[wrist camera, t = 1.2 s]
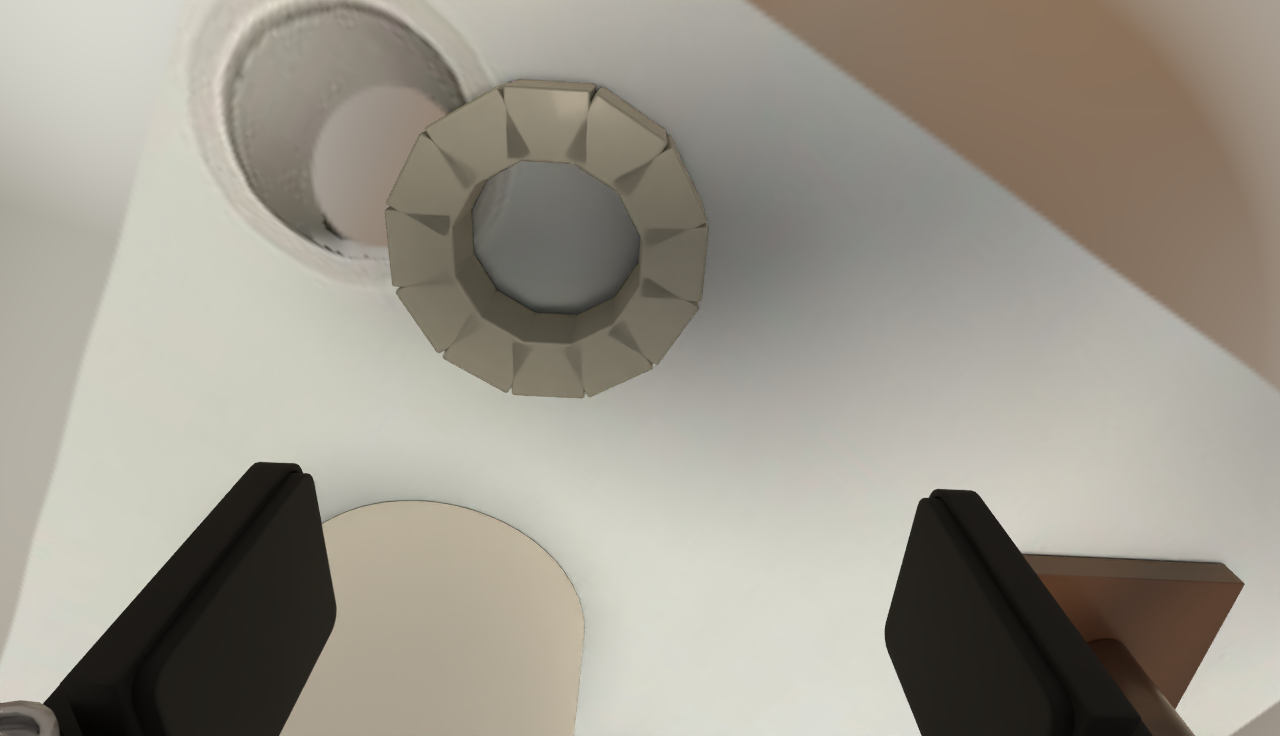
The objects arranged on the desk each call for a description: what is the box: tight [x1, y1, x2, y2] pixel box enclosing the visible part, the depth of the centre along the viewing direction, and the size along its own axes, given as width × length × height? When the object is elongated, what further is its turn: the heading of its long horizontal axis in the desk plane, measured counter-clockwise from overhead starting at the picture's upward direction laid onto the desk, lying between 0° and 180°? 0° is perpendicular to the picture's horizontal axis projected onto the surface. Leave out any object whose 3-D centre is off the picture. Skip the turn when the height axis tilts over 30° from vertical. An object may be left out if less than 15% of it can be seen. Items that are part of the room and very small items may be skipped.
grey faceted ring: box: [385, 79, 708, 398], centre depth 22 cm, size 10×10×3 cm
